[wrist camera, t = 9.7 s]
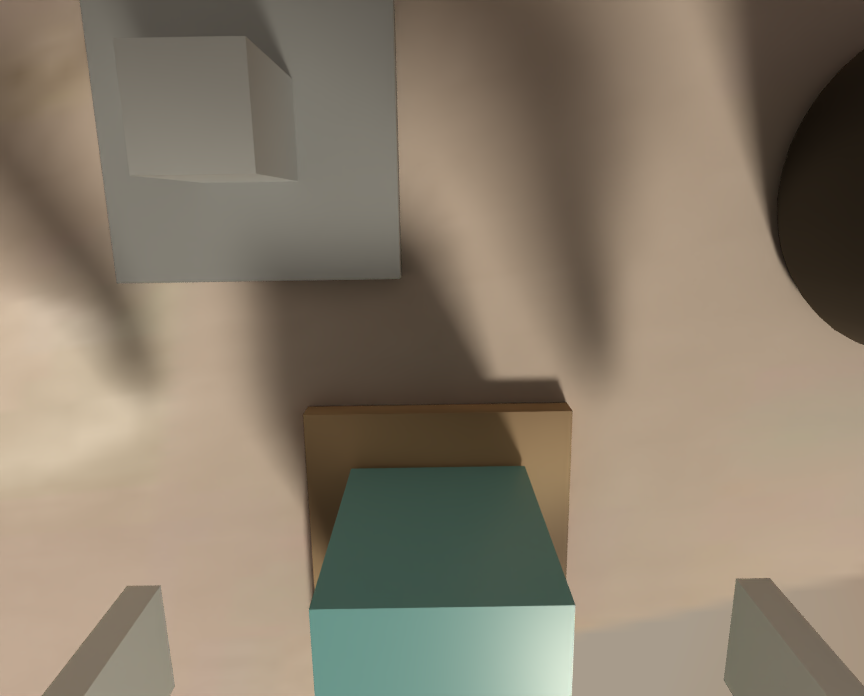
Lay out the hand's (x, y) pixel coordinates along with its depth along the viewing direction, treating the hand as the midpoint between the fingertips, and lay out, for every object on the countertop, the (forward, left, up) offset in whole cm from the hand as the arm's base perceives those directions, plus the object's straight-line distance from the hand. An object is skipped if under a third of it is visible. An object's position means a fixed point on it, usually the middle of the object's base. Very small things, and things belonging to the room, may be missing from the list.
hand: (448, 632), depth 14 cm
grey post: (-12, -5, -6) cm, 14 cm away
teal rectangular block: (+1, 0, -5) cm, 5 cm away
